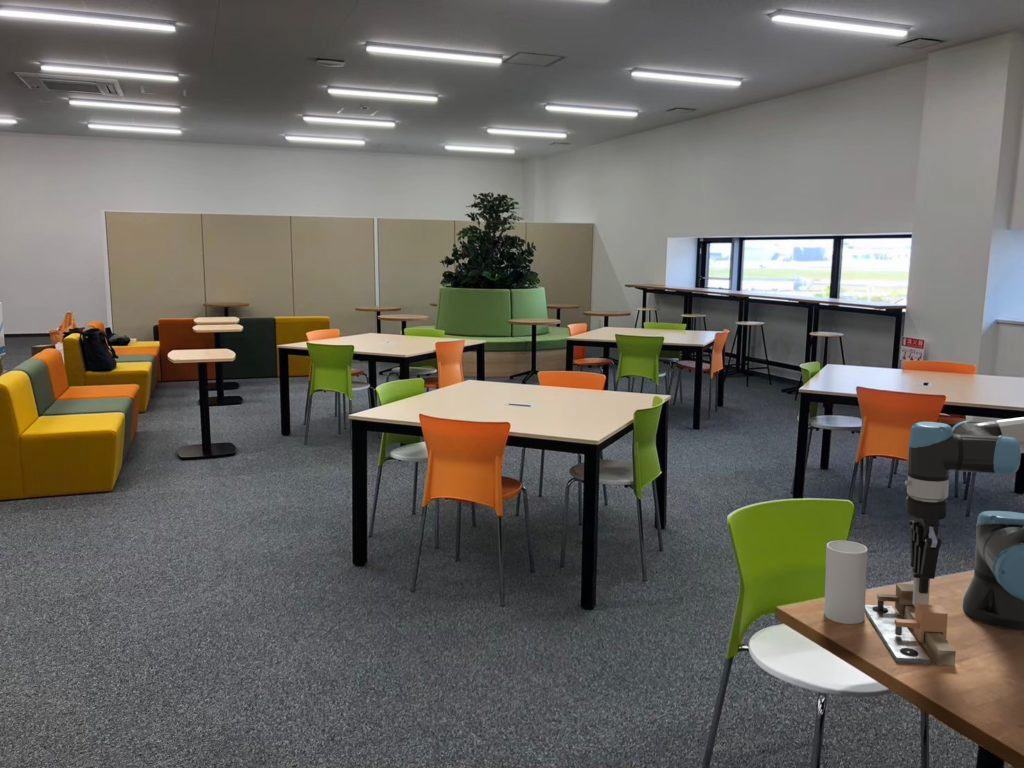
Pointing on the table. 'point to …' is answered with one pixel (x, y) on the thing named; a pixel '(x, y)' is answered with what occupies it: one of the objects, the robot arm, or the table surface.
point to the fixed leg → (897, 597)
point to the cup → (845, 582)
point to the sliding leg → (925, 621)
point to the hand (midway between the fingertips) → (920, 605)
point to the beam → (934, 642)
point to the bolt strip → (896, 636)
